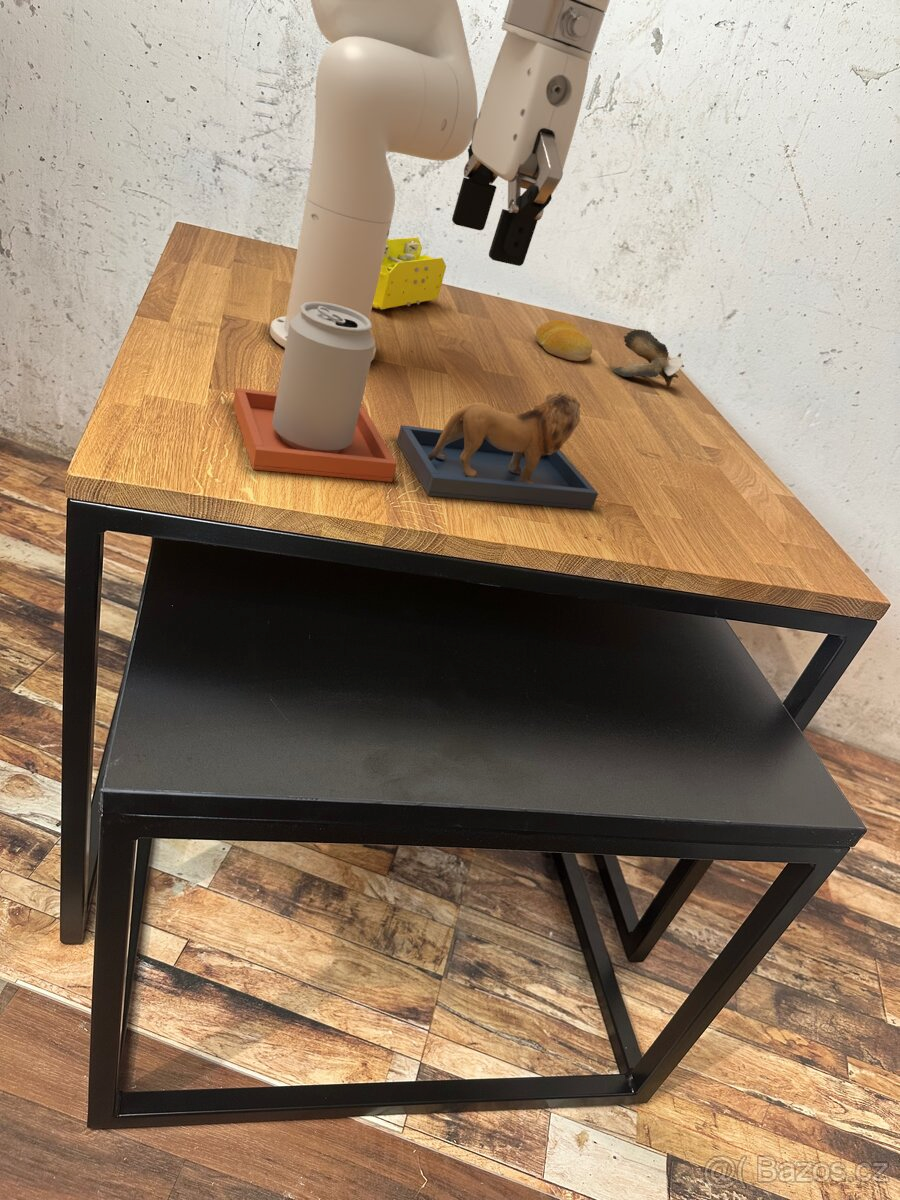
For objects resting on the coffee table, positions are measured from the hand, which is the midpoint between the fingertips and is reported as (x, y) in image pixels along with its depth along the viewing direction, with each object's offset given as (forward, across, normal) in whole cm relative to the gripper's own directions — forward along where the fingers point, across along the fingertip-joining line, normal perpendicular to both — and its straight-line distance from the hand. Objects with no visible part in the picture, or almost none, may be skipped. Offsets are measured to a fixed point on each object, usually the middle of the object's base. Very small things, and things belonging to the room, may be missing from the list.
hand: (485, 243), depth 78 cm
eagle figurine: (+21, +30, -45) cm, 58 cm away
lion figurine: (+19, -7, -5) cm, 21 cm away
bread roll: (+21, +37, -34) cm, 55 cm away
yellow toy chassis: (+21, +46, -10) cm, 52 cm away
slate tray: (+20, -7, -5) cm, 21 cm away
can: (+20, -4, +13) cm, 24 cm away
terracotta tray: (+20, -4, +13) cm, 24 cm away
